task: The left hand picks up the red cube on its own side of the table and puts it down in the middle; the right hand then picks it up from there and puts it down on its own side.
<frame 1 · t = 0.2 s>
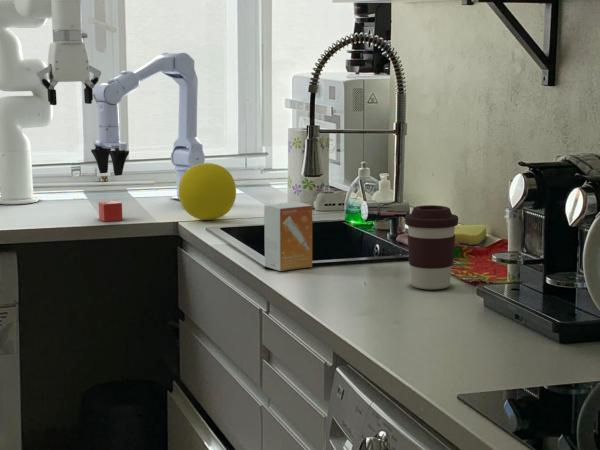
left hand: (70, 104, 273), 31 cm above the worktop, tool pointing down, fingers open, 9 cm apart
right hand: (110, 174, 298), 10 cm above the worktop, tool pointing down, fingers open, 7 cm apart
small box: (288, 267, 216), on the worktop
red cube: (110, 219, 280), on the worktop
coffee cup: (430, 287, 198), on the worktop
toy: (208, 220, 278), on the worktop
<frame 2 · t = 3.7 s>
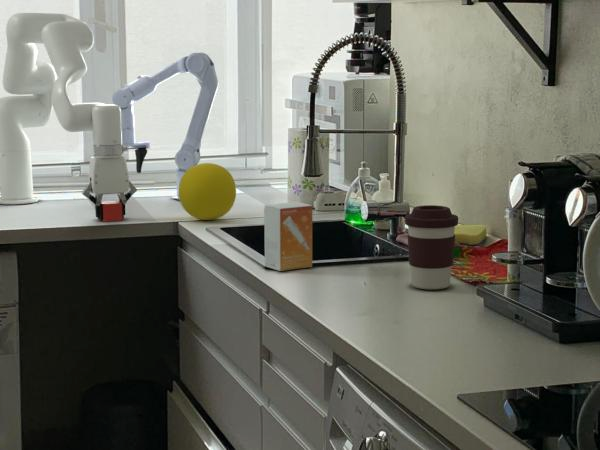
left hand: (110, 218, 280), 0 cm above the worktop, tool pointing down, fingers closed on red cube, 5 cm apart
right hand: (126, 173, 318), 8 cm above the worktop, tool pointing down, fingers open, 7 cm apart
red cube: (110, 219, 280), on the worktop, touching left hand
everything else where it was.
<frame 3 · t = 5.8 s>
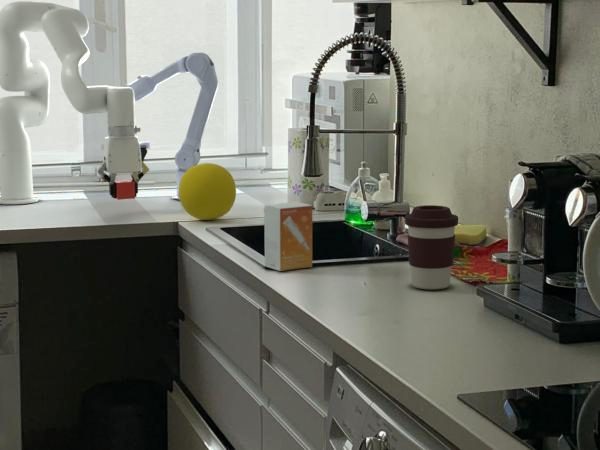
left hand: (123, 196, 292), 4 cm above the worktop, tool pointing down, fingers closed on red cube, 5 cm apart
right hand: (126, 173, 318), 8 cm above the worktop, tool pointing down, fingers open, 7 cm apart
red cube: (123, 197, 292), point 4 cm above the worktop, touching left hand
everything else where it was.
when the left hand's fingers open (1 cm above the worktop, at t = 7.9 s): red cube stays where it is, on the worktop.
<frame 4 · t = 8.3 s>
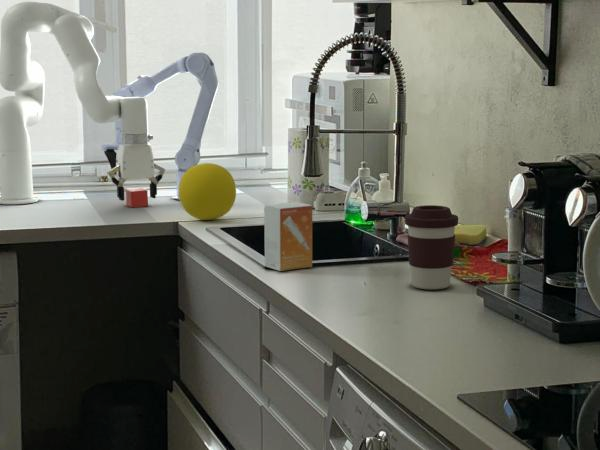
left hand: (137, 198, 305), 2 cm above the worktop, tool pointing down, fingers open, 9 cm apart
right hand: (126, 173, 318), 8 cm above the worktop, tool pointing down, fingers open, 7 cm apart
red cube: (137, 205, 305), on the worktop
everything else where it was.
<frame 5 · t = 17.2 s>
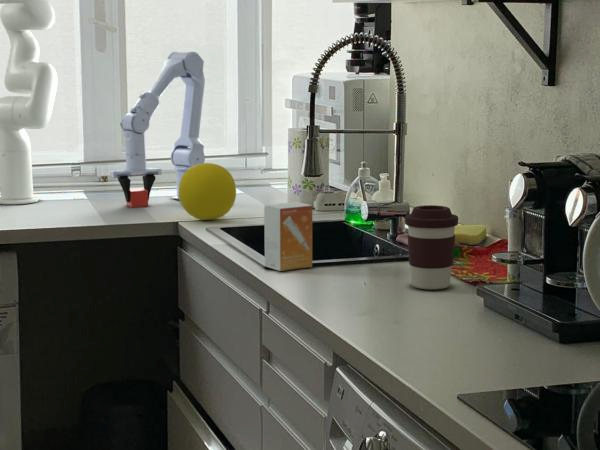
right hand: (137, 200, 305), 1 cm above the worktop, tool pointing down, fingers closed on red cube, 5 cm apart
red cube: (137, 205, 305), on the worktop, touching right hand
everything else where it was.
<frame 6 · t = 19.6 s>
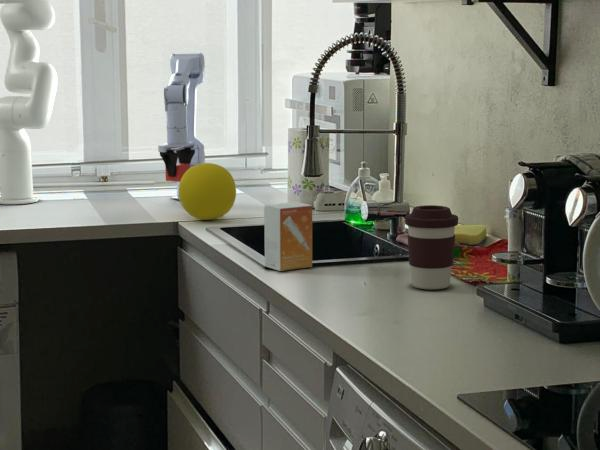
right hand: (178, 175, 298), 9 cm above the worktop, tool pointing down, fingers closed on red cube, 5 cm apart
red cube: (178, 180, 298), point 8 cm above the worktop, touching right hand
everything else where it was.
when the right hand's fingers open (2 cm above the worktop, at t = 22.0 s): red cube stays where it is, on the worktop.
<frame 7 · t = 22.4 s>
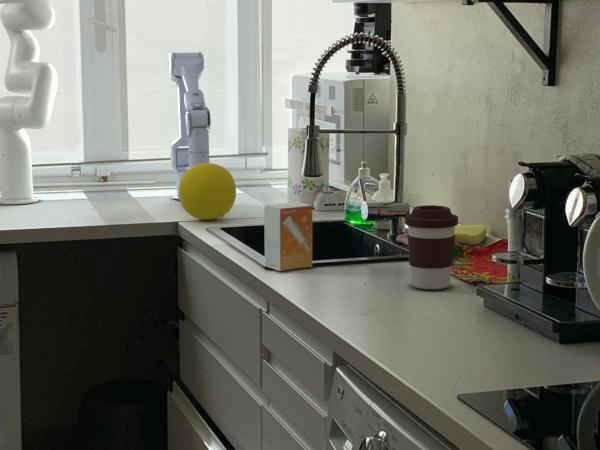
right hand: (200, 199, 296), 3 cm above the worktop, tool pointing down, fingers open, 7 cm apart
red cube: (200, 209, 297), on the worktop
everything else where it was.
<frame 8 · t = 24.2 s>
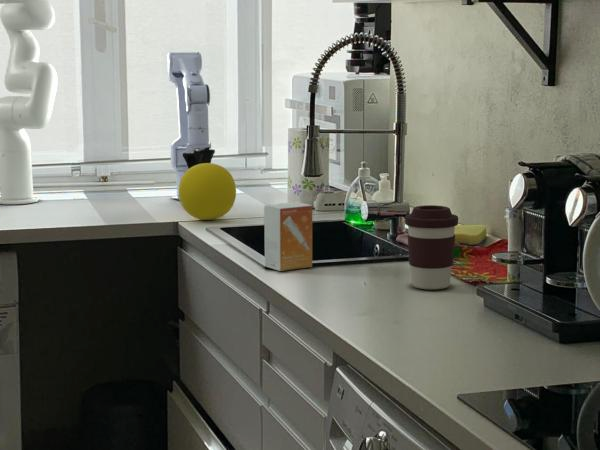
right hand: (199, 176, 295), 9 cm above the worktop, tool pointing down, fingers open, 7 cm apart
nothing on the worktop moved.
at the end: red cube inside the target area (0.1 cm from its centre), on the worktop; red cube tilted 0°; the two hands never held the red cube at the same time; the left hand is holding nothing; the right hand is holding nothing; red cube at rest at the end (0.0 cm/s) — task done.
